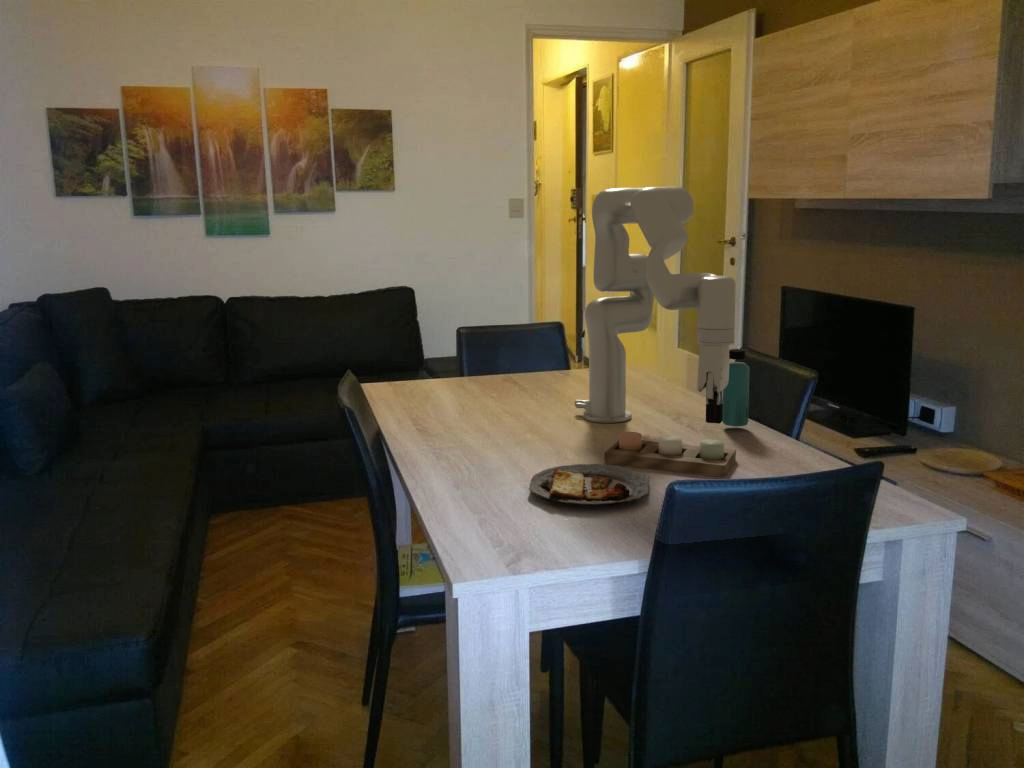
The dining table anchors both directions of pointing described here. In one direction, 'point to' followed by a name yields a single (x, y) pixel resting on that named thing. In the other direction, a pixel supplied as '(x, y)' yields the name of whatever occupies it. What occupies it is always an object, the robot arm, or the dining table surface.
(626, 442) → the terracotta button
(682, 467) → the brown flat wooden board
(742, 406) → the beverage bottle
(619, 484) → the food plate
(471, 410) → the dining table surface
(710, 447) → the sage button
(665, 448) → the cream button
